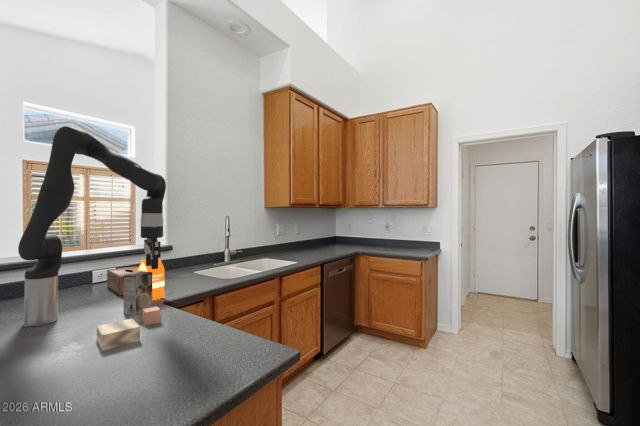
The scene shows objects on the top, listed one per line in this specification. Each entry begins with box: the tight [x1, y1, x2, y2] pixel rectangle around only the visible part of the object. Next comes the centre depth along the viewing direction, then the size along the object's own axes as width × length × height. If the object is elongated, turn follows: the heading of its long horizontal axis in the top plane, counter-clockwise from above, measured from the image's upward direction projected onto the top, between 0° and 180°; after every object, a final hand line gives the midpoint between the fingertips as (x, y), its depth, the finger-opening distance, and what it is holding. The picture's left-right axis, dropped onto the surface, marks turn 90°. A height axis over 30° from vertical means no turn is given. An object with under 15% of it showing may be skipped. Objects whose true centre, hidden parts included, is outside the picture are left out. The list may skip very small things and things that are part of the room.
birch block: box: [96, 318, 141, 352], centre depth 95 cm, size 10×10×5 cm
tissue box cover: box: [106, 265, 139, 297], centre depth 160 cm, size 26×14×10 cm, turn 48°
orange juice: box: [137, 257, 166, 301], centre depth 140 cm, size 8×9×20 cm
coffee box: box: [123, 271, 154, 315], centre depth 124 cm, size 9×6×16 cm
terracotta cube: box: [142, 306, 161, 327], centre depth 111 cm, size 5×5×5 cm
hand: (151, 267), depth 111 cm, fingers open, 8 cm apart
